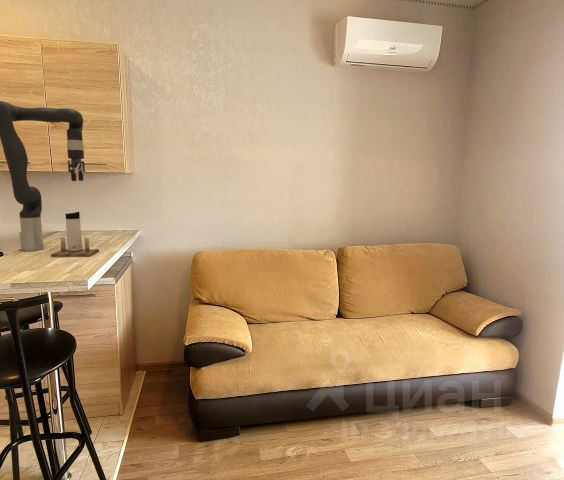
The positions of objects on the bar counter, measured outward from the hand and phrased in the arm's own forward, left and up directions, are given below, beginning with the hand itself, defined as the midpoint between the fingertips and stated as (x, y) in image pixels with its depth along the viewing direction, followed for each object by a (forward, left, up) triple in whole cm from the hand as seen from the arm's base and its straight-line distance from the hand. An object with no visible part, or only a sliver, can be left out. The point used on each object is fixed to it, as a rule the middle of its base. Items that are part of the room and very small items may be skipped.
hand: (77, 180), depth 198 cm
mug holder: (+3, -16, -36) cm, 40 cm away
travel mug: (+3, -16, -35) cm, 39 cm away
